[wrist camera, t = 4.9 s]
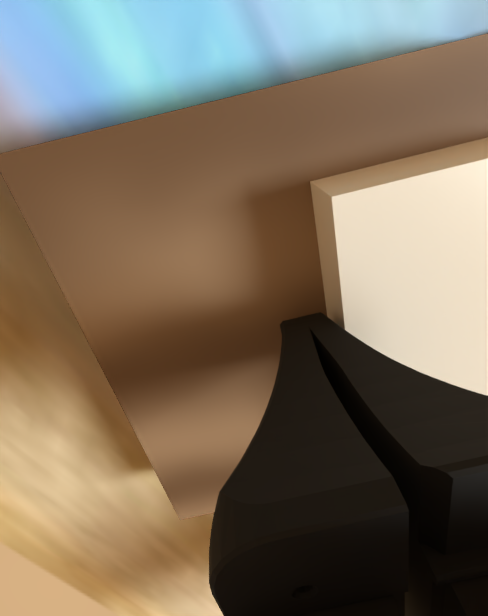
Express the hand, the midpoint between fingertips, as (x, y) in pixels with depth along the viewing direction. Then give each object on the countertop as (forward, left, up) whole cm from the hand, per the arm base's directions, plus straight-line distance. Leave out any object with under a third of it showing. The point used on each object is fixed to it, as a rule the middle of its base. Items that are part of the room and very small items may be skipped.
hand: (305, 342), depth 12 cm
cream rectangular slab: (0, -4, 0) cm, 4 cm away
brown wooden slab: (-1, 0, -4) cm, 4 cm away
